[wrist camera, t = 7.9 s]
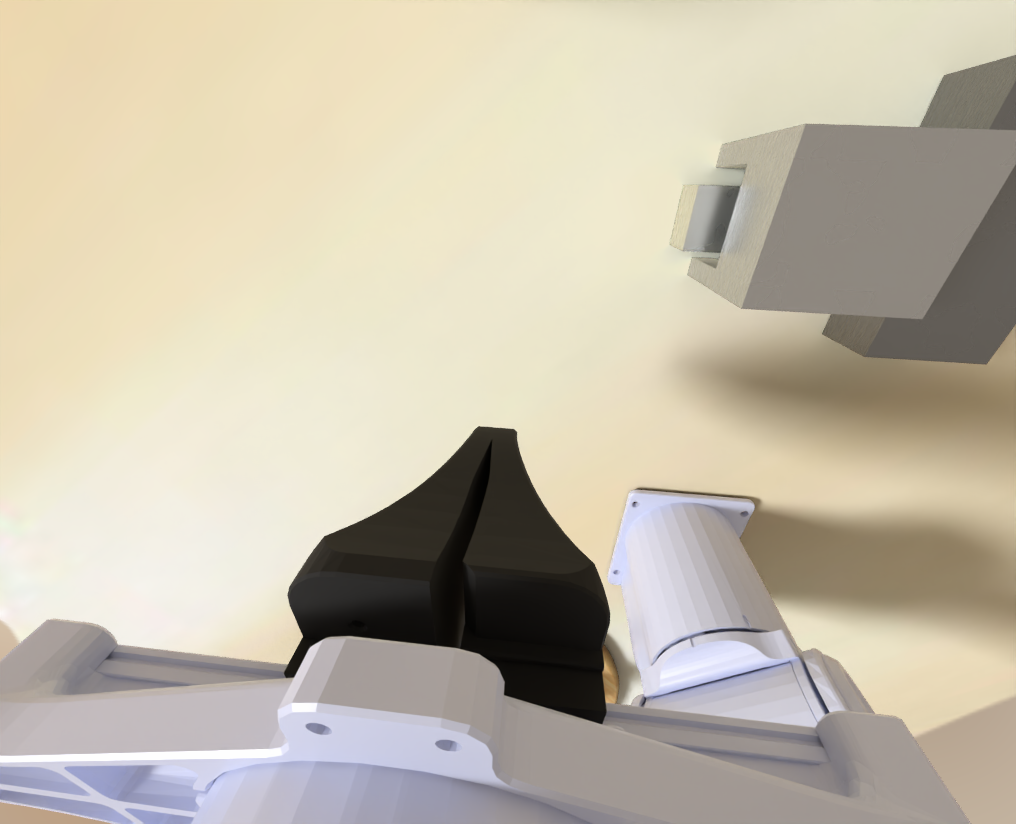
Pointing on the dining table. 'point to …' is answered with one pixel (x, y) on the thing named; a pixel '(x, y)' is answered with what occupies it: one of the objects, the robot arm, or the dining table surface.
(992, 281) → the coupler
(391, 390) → the dining table surface
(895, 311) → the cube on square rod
